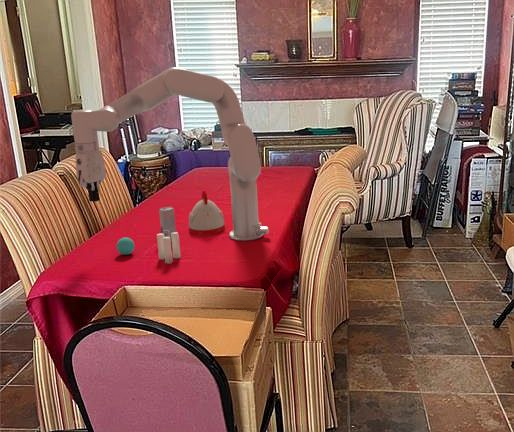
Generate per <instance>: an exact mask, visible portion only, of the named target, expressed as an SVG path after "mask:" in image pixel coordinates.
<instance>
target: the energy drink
mask: <svg viewBox="0 0 514 432" xmlns="http://www.w3.org/2000/svg"><path fill="white" fill-rule="evenodd" d="M158 215H159V223H160V231H161V233H163V234H164V237H170V241H171V242H172V238H171V233H173V232H177V229H176V228H177V227H176V218H175V209H174V207H173V206H164V207H160V208H159V210H158Z"/></svg>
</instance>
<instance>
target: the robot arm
mask: <svg viewBox="0 0 514 432" xmlns="http://www.w3.org/2000/svg"><path fill="white" fill-rule="evenodd" d="M176 95H178V96H182V97H184V98H187V99H193V100H197V101H201V102H206V103H211V104H212V105H213V106H214V108H215V110H216V114H217V117H218V121H219V125H220V129H221V130H220V131H221V134H222V139H223V143H224V144H225V145H226V146H227V147H228V151H229V155H230V156H229V159H228V161H227V168H228V176H229V177H228V178H229V185H230V198H231V199H230V201H231V214H232V217H231V218H232V230H231V231H230V232H229V234H228V235H229V237H230V239H232V240H235V241H240V242H241V241H244V242H245V241H254V240H257V239H259V238H262V237H263V236H264V234H265V235H266V234H269V232H270V230H269V226H262V222H260V221H259V204H258V203H259V202H258V201H259V200H258V186H257V179H258V177H259V176H260V174H261V172H262V165H261V159H260V154H259V150H258V146H257V141H256V138H255V135H254V132H253V130H252V129H251V128H250V126H248V125H247V124H246V122H245V118H244V114H243V111H242V107H241V104H240V101H239V98H238V95H237V94H236V92H235V90H234V89H233V88H232V87H231V86H230V85H229V84H228V83H227V82H226V81H224V80H222V79H220V78H218V77H216V76H213V75H208V74H204V73H200V72H197V71H196V72H195V71H192V70H188V69H185V68H182V67H180V66H179V67H178V66H177V67H176V66H173V67H169V68H168V69H165V70H164V71H162V72H161V73H159V74H157V75H156V76H154V77H152V78H150V79H148V80H146V81H145V82H144V83H142V84H140V85H138V86H136V87H134V88H133V89H132V90H130V91H128V92H127V93H125V94H124V95H122V96H120V97H119V98H116V99H115V100H113V101H111V102H110V103H108V104H106V105H104V106H102V108H100V109H96V110H92V109H78V110H73V111H72V112H71V115H70V117H71V124H72V133H73V139H74V146H75V147H74V150H75V173H76V179H77V181H78V183H79V187H80V188H85V190H86V191H87V194H88V201H89V202H92V203H93V202H94V203H96V202H97V203H98V202H99V201H100V191H99V189H100V185H101V183H102V182H103V181H104V179H106V177H107V167H106V162H105V159H104V155H103V152H102V150H101V149H100V143H99V135H98V132H105V133H107V132H108V133H109V132H112V131H115V130H116V129H117V128H118V127H119V124H121V123H124V122H125V121H126V120H129V119H130V118H132V117H134V116H136V115H138V114H142V113H143V112H148V111H150V110H153V109H155V108H156V107H158V106H159V105H161V104H163V103H164V102H166V101H168V100H170V99H171V98H173V97H175V96H176Z"/></svg>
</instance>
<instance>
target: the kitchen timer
mask: <svg viewBox="0 0 514 432" xmlns="http://www.w3.org/2000/svg"><path fill="white" fill-rule="evenodd" d="M188 215H189V216H188V231H189V233H192V234H194V235H195V234H196V235H211V234H216V233H219V232H222V231H223V230H225V226H226V225H225V220H224V215H223V211H222V210H221V209H220V208H219V206H217V204H216V203H215V202H213V201H212V200H210V199H209V197H208V194H207V192H206V191H205V190H203V191H202V193H201V200H199V201H198V202H197V203H196V204H195V205H194V207H193V208H192V210H191V211H190V212H189V214H188Z"/></svg>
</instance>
